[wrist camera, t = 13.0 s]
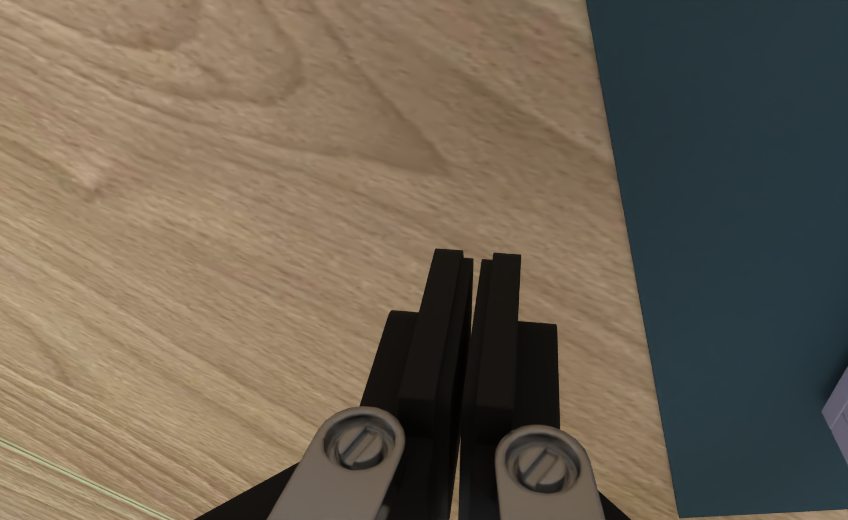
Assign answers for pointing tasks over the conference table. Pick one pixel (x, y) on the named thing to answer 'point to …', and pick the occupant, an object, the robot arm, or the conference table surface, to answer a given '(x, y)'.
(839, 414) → the lavender lidded box
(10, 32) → the conference table surface
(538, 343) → the robot arm
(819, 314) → the mat
